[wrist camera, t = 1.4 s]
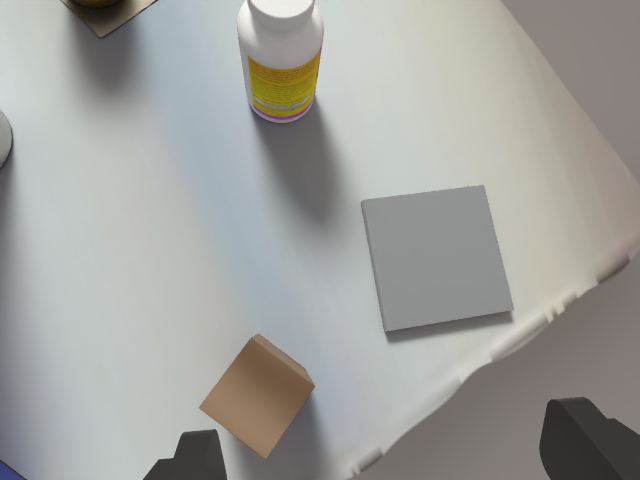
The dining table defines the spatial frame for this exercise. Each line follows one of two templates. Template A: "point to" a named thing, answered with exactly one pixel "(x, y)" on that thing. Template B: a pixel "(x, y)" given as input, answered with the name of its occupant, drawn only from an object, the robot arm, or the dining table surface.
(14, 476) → the cereal box
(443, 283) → the slate tile
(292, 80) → the supplement bottle
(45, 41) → the dining table surface
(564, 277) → the dining table surface
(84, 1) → the condiment
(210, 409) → the walnut block
